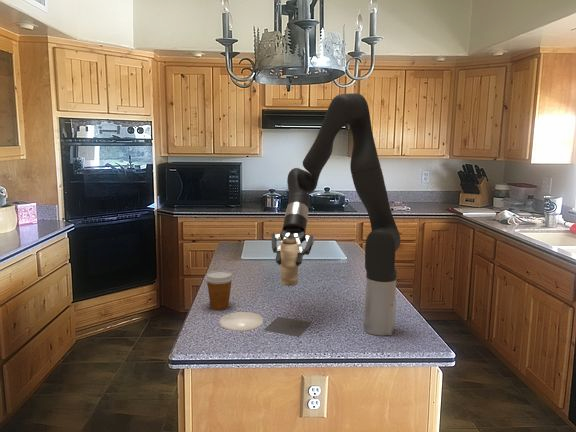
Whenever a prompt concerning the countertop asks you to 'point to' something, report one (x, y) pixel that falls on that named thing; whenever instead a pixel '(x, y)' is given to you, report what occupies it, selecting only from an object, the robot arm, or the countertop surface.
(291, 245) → the pepper mill
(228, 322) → the plate
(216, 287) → the disposable coffee cup
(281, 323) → the mat
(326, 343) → the countertop surface
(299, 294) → the countertop surface
